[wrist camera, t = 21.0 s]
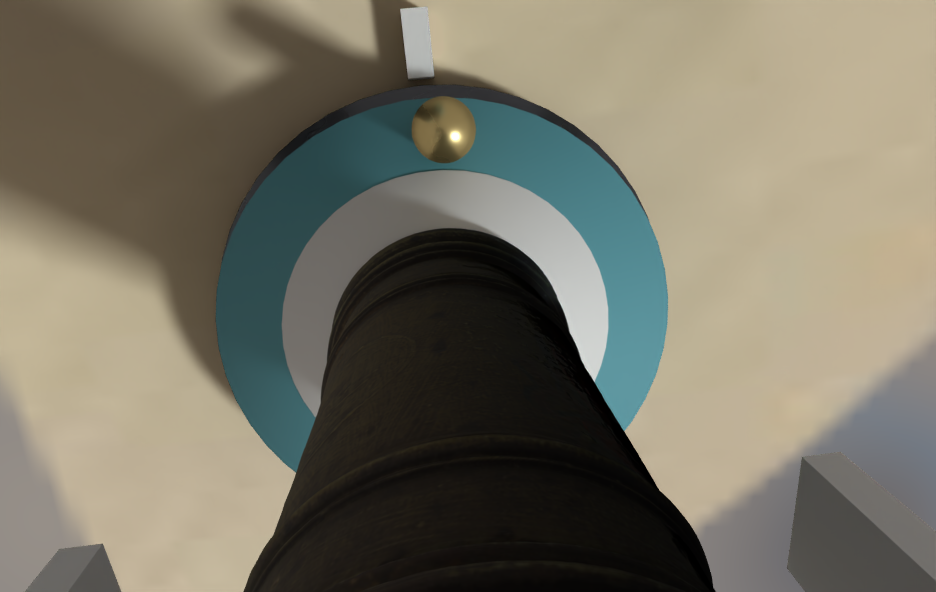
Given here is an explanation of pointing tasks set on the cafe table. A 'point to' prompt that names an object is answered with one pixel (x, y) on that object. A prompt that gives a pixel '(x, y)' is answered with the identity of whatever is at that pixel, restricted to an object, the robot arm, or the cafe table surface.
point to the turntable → (426, 208)
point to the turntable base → (420, 68)
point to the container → (468, 445)
